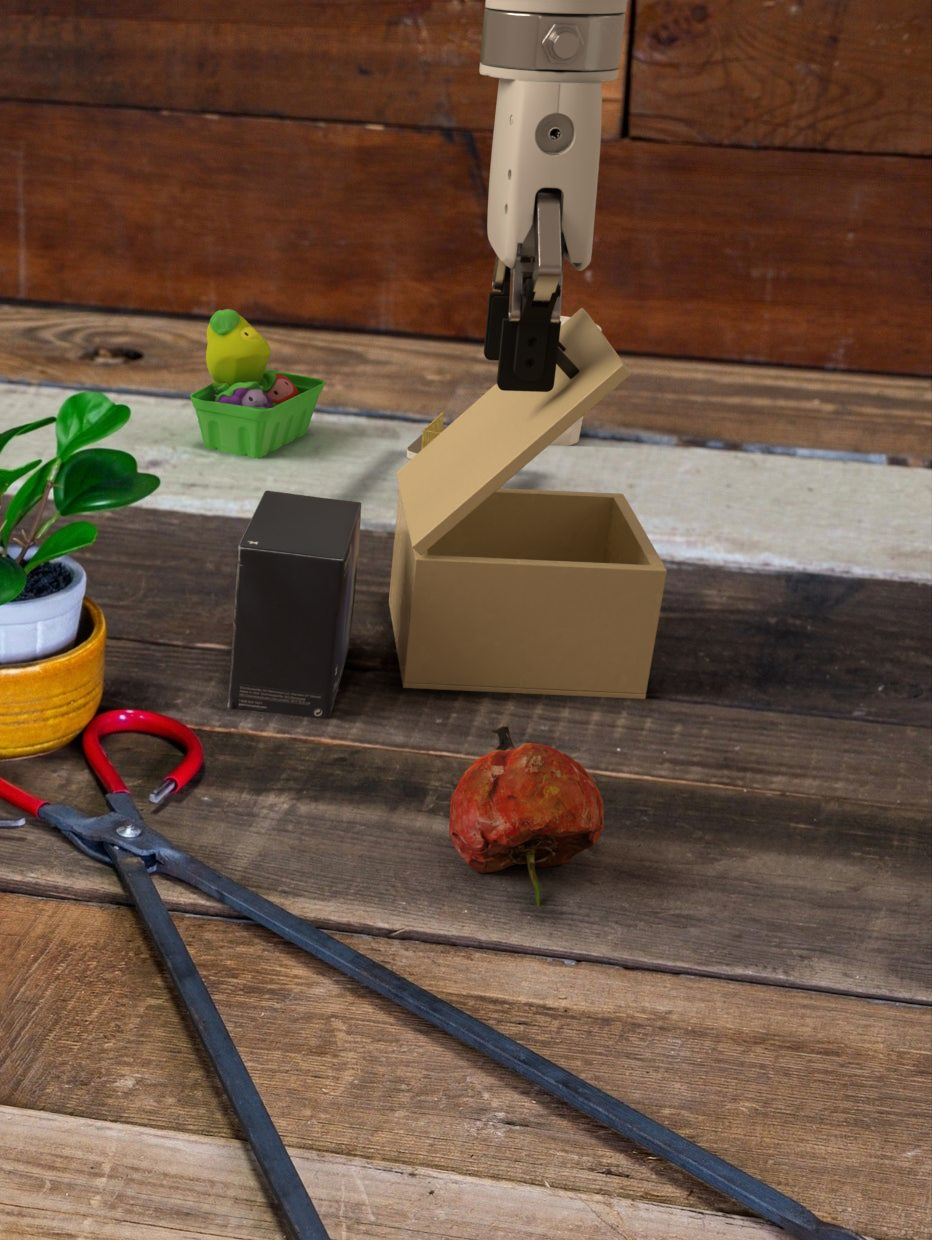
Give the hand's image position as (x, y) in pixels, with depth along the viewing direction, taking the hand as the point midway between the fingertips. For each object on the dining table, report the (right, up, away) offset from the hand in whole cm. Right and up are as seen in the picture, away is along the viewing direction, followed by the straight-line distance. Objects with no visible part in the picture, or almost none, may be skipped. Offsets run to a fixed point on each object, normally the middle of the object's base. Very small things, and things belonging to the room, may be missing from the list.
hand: (517, 371), depth 99 cm
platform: (0, -3, +34) cm, 34 cm away
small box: (-13, -19, +3) cm, 23 cm away
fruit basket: (-15, +3, +46) cm, 48 cm away
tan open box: (+1, -16, +8) cm, 18 cm away
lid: (0, -3, +2) cm, 4 cm away
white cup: (+11, +5, +51) cm, 53 cm away
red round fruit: (-3, -29, -16) cm, 33 cm away
